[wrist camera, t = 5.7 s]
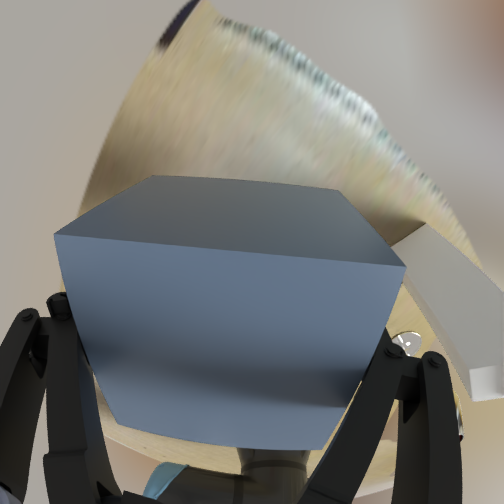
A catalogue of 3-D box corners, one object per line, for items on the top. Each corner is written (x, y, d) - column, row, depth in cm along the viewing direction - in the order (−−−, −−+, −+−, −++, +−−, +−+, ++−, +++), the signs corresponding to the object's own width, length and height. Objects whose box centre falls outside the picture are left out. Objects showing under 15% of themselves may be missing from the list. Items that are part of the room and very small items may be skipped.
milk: (403, 284, 33) (483, 432, 13) (386, 248, 31) (484, 405, 11) (441, 259, 31) (541, 387, 11) (427, 220, 29) (553, 349, 9)
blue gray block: (307, 337, 19) (321, 449, 11) (162, 322, 20) (117, 424, 12) (338, 190, 15) (406, 266, 7) (152, 175, 15) (53, 234, 7)
